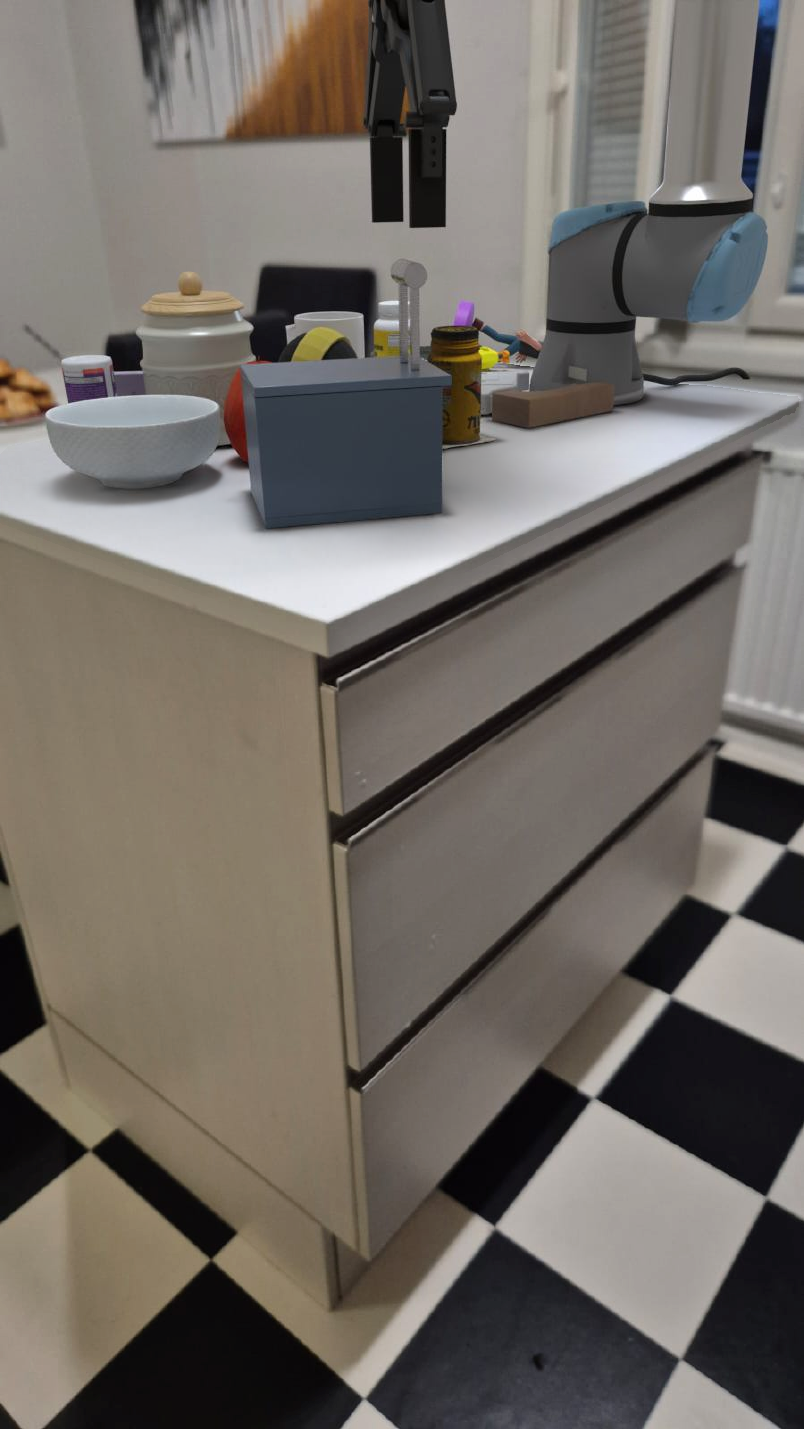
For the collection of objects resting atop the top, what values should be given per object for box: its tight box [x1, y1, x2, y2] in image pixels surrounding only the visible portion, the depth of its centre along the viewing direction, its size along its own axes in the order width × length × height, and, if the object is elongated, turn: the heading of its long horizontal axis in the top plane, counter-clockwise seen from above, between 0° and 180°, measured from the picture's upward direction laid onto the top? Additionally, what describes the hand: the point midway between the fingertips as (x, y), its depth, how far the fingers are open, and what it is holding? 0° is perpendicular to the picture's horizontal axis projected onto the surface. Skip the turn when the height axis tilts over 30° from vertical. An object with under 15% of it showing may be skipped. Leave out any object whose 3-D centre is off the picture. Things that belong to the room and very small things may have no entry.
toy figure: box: [478, 346, 511, 372], centre depth 151 cm, size 7×4×12 cm
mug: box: [284, 311, 366, 358], centre depth 130 cm, size 12×9×11 cm
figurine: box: [452, 300, 544, 364], centre depth 155 cm, size 9×9×18 cm
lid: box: [240, 258, 452, 397], centre depth 84 cm, size 17×12×9 cm
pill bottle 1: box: [60, 354, 118, 404], centre depth 110 cm, size 5×5×10 cm
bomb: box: [277, 327, 358, 363], centre depth 119 cm, size 11×11×15 cm
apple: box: [223, 354, 273, 464], centre depth 104 cm, size 8×8×11 cm
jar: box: [135, 271, 257, 447], centre depth 112 cm, size 13×13×18 cm
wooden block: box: [491, 382, 615, 429], centre depth 123 cm, size 7×3×15 cm
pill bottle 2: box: [373, 300, 410, 357], centre depth 142 cm, size 6×6×11 cm
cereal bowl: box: [44, 395, 221, 490], centre depth 98 cm, size 17×17×7 cm
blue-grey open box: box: [241, 375, 443, 530], centre depth 89 cm, size 16×12×11 cm
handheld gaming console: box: [480, 370, 530, 415], centre depth 130 cm, size 11×3×15 cm
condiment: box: [427, 325, 496, 450], centre depth 110 cm, size 7×8×12 cm
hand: (406, 225), depth 82 cm, fingers open, 13 cm apart
